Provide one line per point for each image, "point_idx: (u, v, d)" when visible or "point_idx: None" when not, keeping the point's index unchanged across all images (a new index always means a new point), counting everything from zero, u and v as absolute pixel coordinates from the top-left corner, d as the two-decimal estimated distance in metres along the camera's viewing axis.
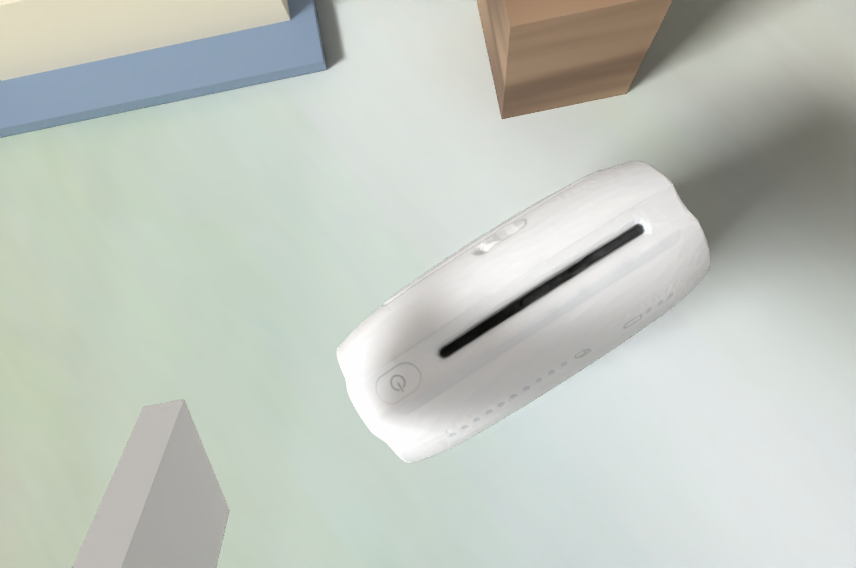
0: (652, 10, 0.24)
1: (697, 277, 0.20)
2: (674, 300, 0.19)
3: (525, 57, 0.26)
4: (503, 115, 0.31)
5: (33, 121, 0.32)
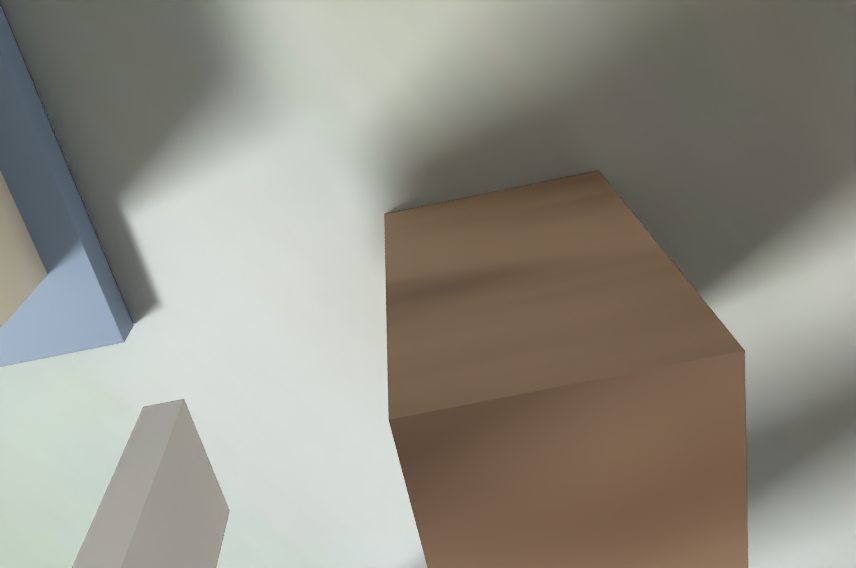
0: None
1: None
2: None
3: None
4: None
5: None
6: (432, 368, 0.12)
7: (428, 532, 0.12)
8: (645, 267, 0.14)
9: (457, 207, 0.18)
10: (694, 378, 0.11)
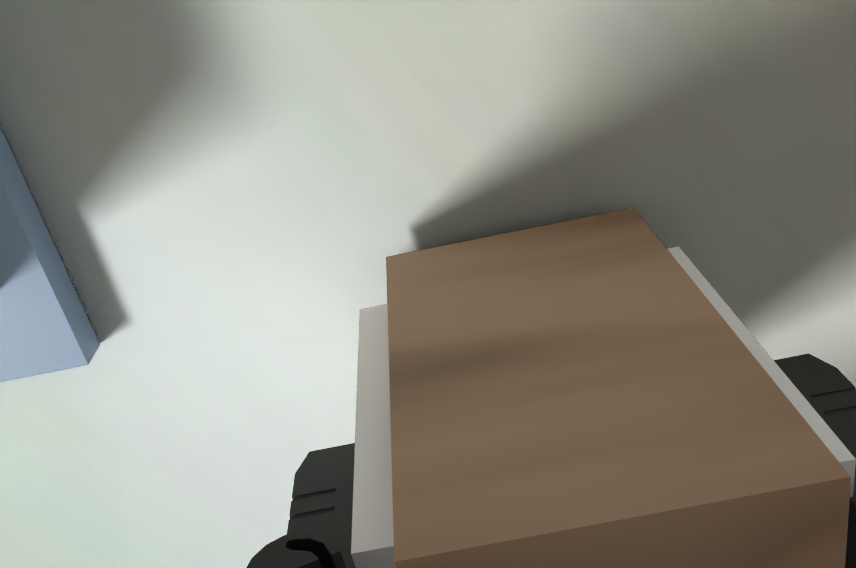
0: None
1: None
2: None
3: None
4: None
5: None
6: (448, 483, 0.10)
7: None
8: (704, 344, 0.11)
9: (470, 251, 0.15)
10: (784, 509, 0.09)
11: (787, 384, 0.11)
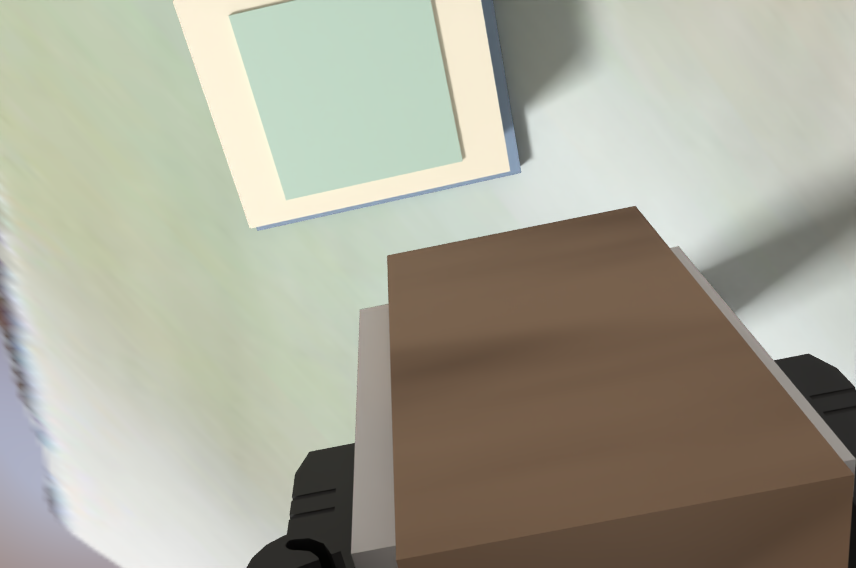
0: None
1: None
2: None
3: None
4: None
5: (296, 221, 0.41)
6: (450, 481, 0.10)
7: None
8: (706, 342, 0.11)
9: (472, 249, 0.15)
10: (787, 508, 0.09)
11: (787, 384, 0.11)
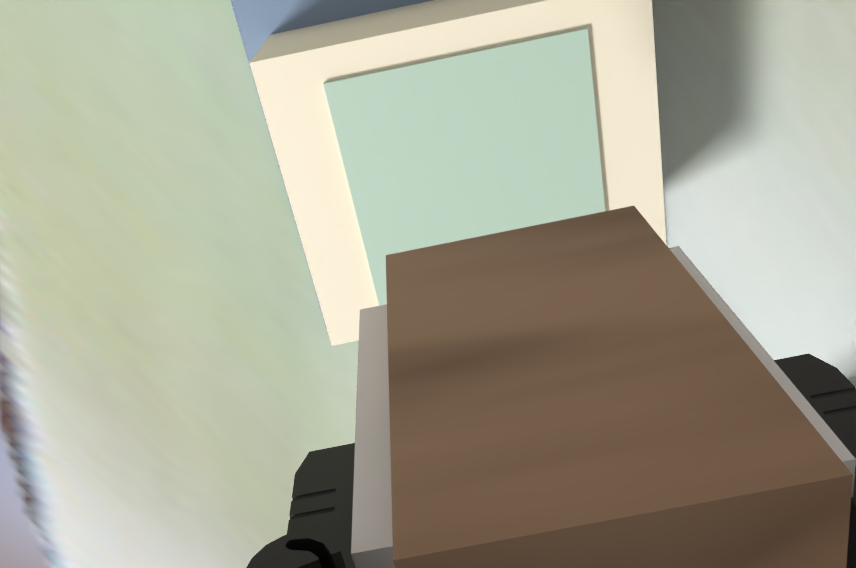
0: None
1: None
2: None
3: None
4: None
5: None
6: (447, 481, 0.10)
7: None
8: (705, 342, 0.11)
9: (470, 249, 0.15)
10: (785, 508, 0.09)
11: (787, 384, 0.11)
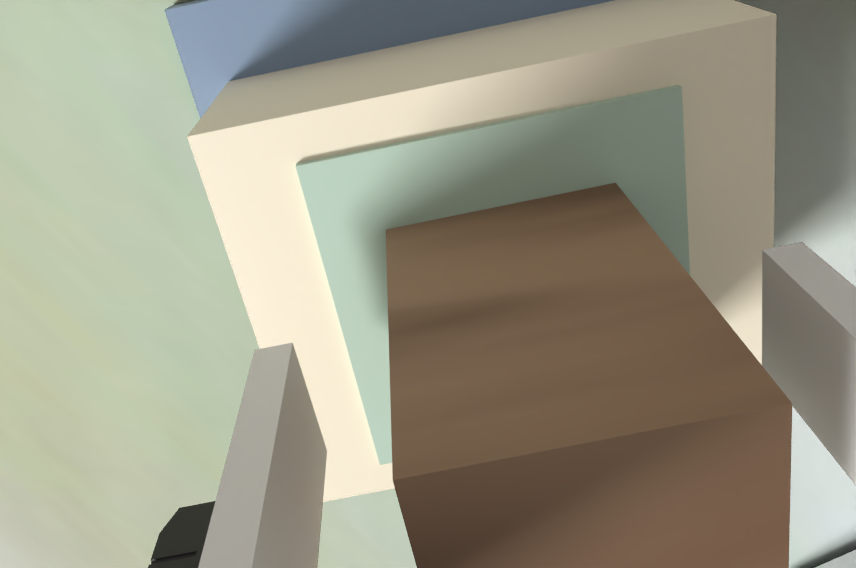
0: None
1: None
2: None
3: None
4: None
5: None
6: (441, 416, 0.11)
7: None
8: (672, 298, 0.12)
9: (464, 223, 0.16)
10: (735, 433, 0.10)
11: None
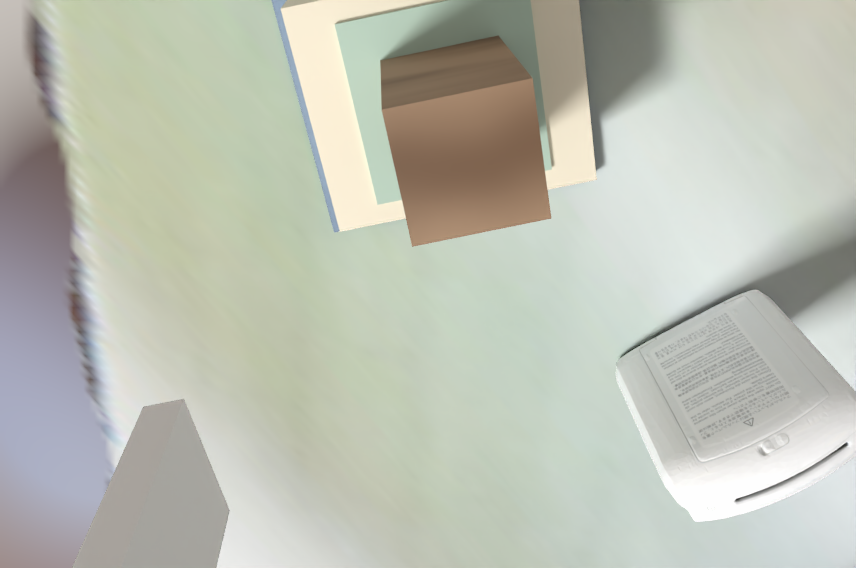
0: None
1: None
2: None
3: None
4: None
5: None
6: (401, 97, 0.27)
7: (399, 171, 0.27)
8: (504, 62, 0.28)
9: (420, 54, 0.32)
10: (512, 91, 0.26)
11: None
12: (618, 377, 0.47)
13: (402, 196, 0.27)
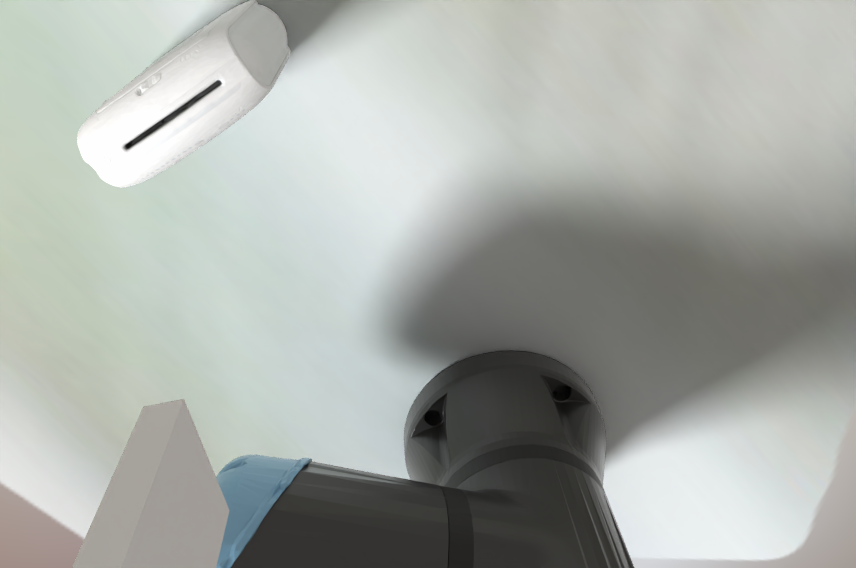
0: None
1: (260, 97, 0.38)
2: (248, 109, 0.38)
3: None
4: None
5: None
6: None
7: None
8: None
9: None
10: None
11: None
12: None
13: None
